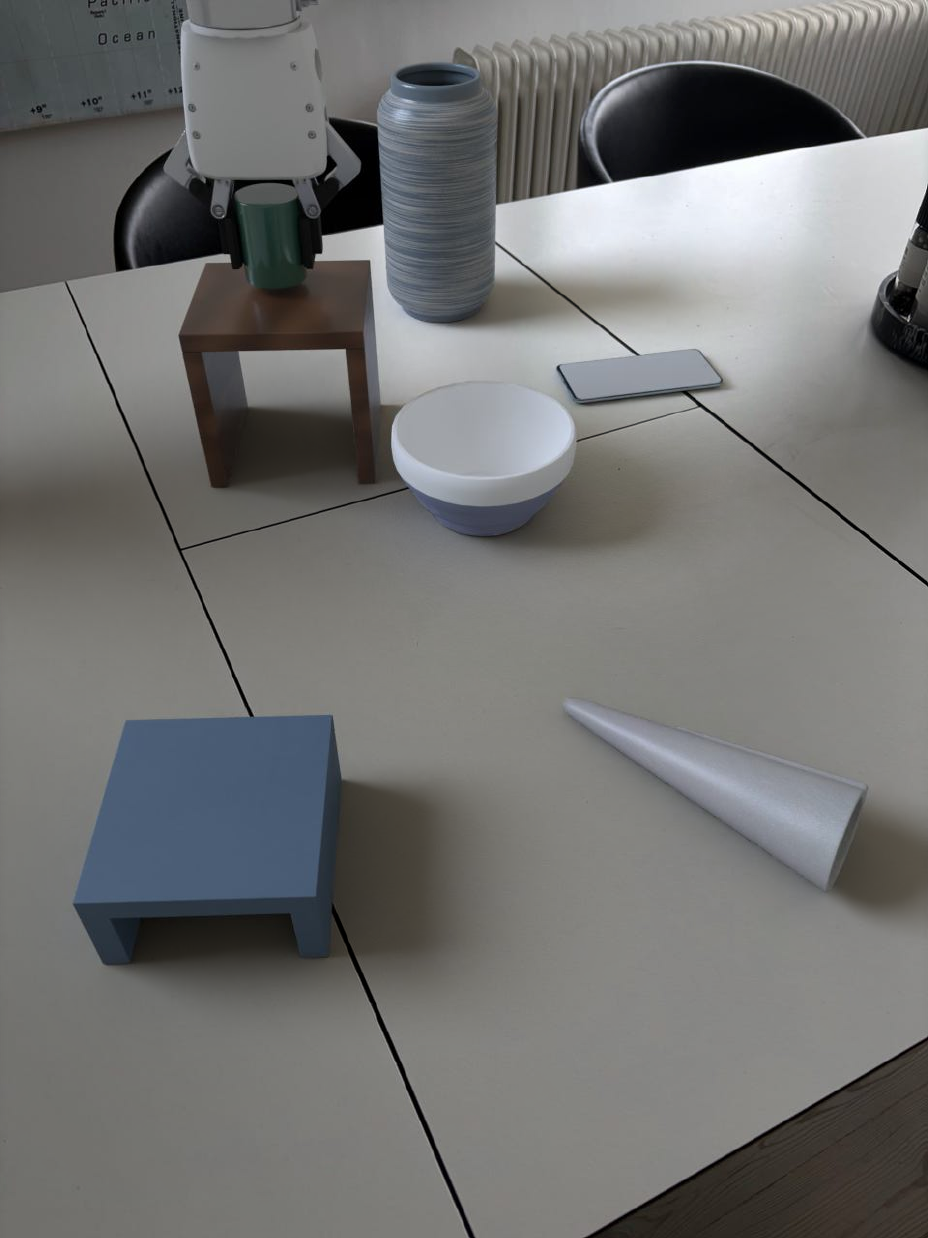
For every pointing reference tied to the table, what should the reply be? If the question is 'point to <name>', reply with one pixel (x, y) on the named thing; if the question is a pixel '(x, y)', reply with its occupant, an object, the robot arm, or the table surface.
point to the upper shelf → (278, 349)
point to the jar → (270, 235)
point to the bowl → (483, 453)
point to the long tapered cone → (743, 788)
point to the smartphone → (638, 375)
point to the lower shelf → (215, 828)
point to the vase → (438, 189)
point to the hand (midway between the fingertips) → (274, 259)
